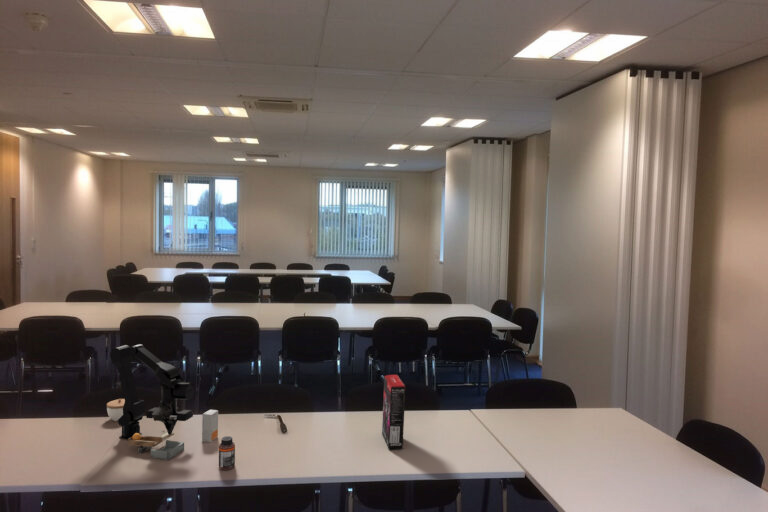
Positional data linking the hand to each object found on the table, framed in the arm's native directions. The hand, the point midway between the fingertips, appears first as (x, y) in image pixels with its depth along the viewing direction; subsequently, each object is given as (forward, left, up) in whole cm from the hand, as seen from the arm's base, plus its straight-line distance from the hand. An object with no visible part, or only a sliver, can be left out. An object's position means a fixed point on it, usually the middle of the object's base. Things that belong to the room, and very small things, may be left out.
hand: (170, 434), depth 215 cm
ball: (-9, -9, +1) cm, 13 cm away
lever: (-5, -5, -1) cm, 7 cm away
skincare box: (+14, +8, -4) cm, 16 cm away
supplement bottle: (+34, -13, -4) cm, 37 cm away
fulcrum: (-5, -9, -4) cm, 11 cm away
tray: (+5, -9, -4) cm, 11 cm away
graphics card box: (+90, +28, -4) cm, 94 cm away
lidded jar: (-39, +17, -4) cm, 43 cm away
